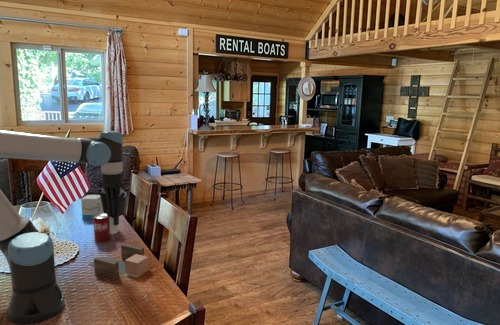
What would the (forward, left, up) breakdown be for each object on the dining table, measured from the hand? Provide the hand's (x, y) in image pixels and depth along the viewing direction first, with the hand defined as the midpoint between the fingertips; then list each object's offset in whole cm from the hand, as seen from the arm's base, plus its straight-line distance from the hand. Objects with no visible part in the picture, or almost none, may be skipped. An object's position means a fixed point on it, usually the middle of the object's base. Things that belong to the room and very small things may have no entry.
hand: (113, 232), depth 140 cm
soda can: (+18, +25, -14) cm, 34 cm away
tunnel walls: (+1, -2, -14) cm, 14 cm away
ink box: (+41, +56, -15) cm, 70 cm away
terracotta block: (+1, -10, -14) cm, 17 cm away
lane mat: (+1, -1, -14) cm, 14 cm away
